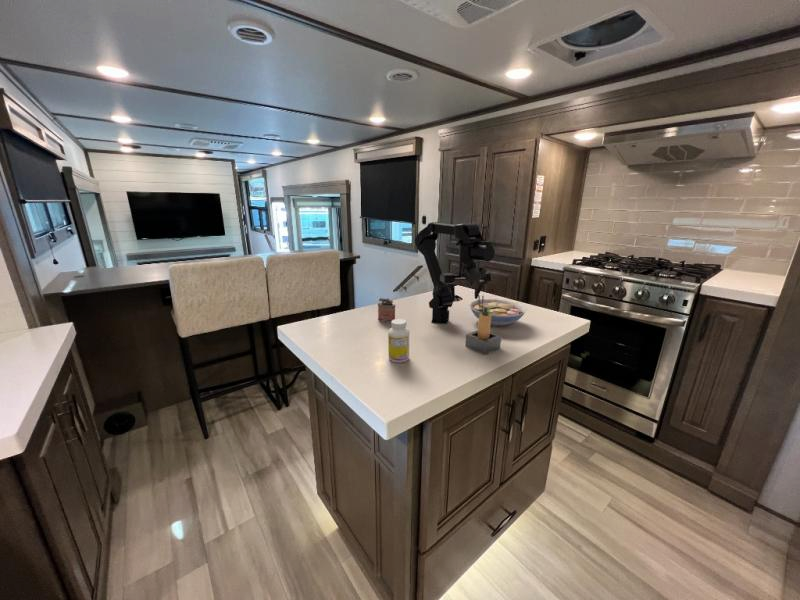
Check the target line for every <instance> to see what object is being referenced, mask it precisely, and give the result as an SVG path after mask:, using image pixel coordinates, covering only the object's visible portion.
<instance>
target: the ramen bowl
mask: <svg viewBox="0 0 800 600" xmlns="http://www.w3.org/2000/svg"><path fill="white" fill-rule="evenodd" d="M480 296H481V295H480V294H479V295H478V298H477V299H475V300H472V301H470V303H469V305H468V306H469V308H470V310H471V312H472V313H473V315H474V317H475V318H477V319H478V320H479V314H480V313H482V311H484V308H485V307H487V311H488V312H489V314H491V325H490V326H495V327H502V326H505V325H511V324H513V323H516V322H517V321H519V320H520V319H521V318H522V317H523V316H524V315H525V313H526V312H527V308H526V306H524V305H523V304H520V303H518V302H514V301H511V300H507V299H501V298H500V299H499V298H498V299H497V298H484V296H485V295H482V297H480Z"/></svg>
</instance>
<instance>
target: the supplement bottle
mask: <svg viewBox="0 0 800 600" xmlns="http://www.w3.org/2000/svg"><path fill="white" fill-rule="evenodd" d="M390 324H391V328H389V329H388V336H387V337H388V339H387V340H388V341H387V342H388V345H387V346H388V359H389V361H391V362H393V363H398V364H399V363H400V364H401V363H405V362H407V361H409V359H410V330H409V328H407V320H405V319H403V318H395V319H394V320H392V321H391V323H390Z"/></svg>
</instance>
